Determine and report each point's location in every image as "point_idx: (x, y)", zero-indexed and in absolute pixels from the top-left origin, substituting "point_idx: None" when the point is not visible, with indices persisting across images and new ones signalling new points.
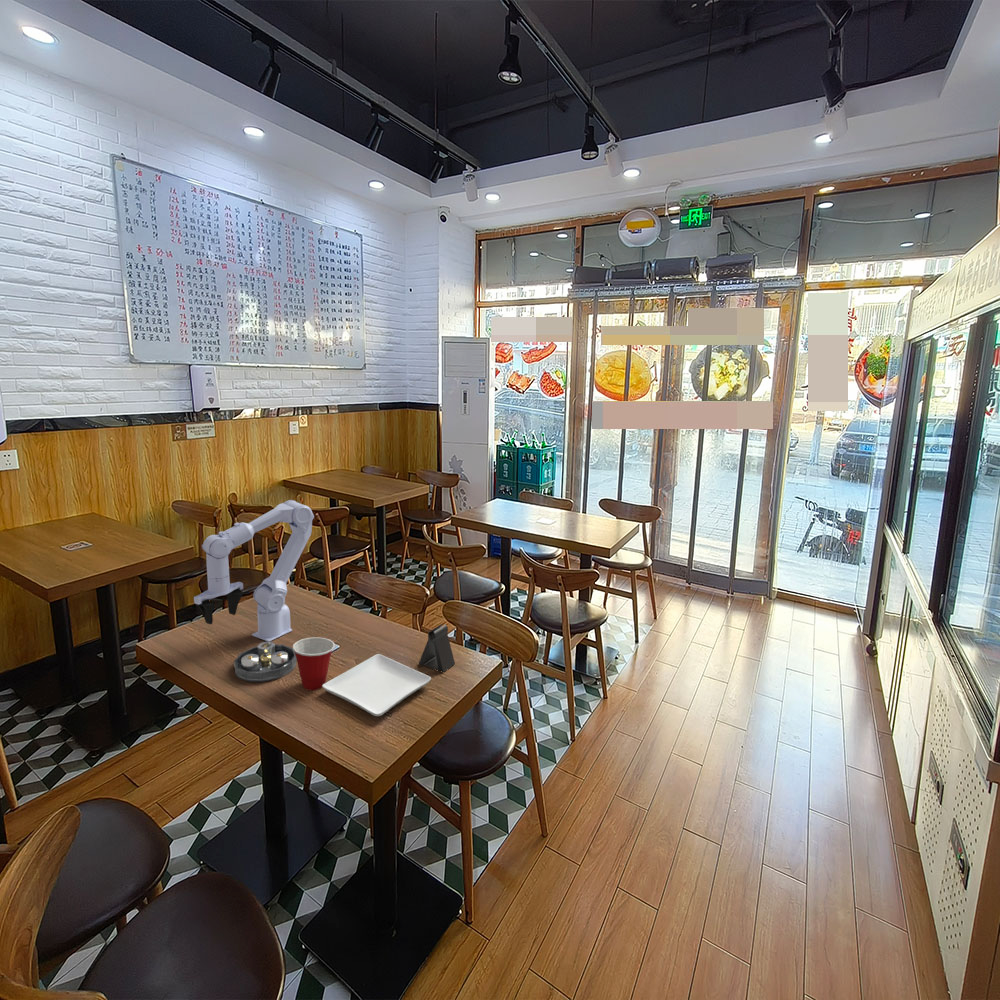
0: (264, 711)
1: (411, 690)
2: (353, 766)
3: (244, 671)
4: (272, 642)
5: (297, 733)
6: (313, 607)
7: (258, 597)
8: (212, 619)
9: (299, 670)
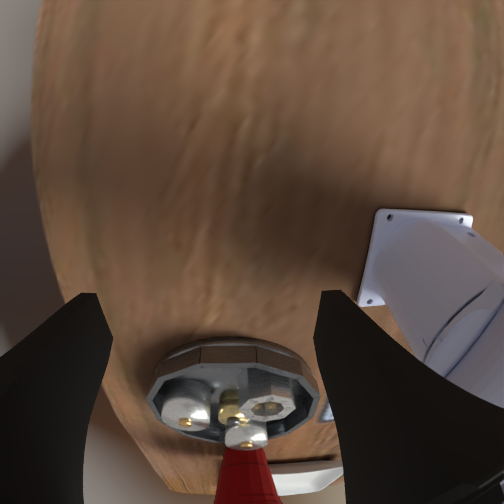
0: (144, 442)
1: (295, 485)
2: (171, 487)
3: (155, 415)
4: (293, 407)
5: (156, 466)
6: None
7: (497, 383)
8: (102, 374)
9: (220, 478)
